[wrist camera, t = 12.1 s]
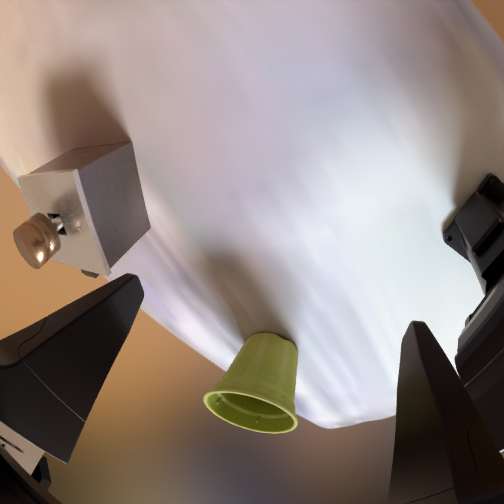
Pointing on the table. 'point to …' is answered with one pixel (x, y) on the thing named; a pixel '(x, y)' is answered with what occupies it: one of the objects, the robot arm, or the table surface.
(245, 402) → the plant pot
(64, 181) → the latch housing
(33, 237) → the bronze domed cylinder
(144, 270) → the table surface
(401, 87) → the table surface
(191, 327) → the table surface
